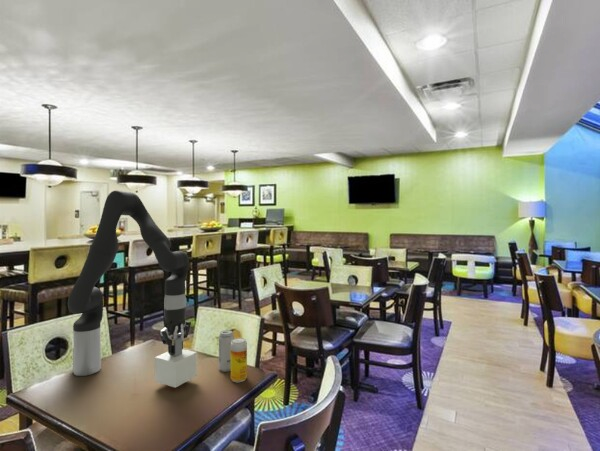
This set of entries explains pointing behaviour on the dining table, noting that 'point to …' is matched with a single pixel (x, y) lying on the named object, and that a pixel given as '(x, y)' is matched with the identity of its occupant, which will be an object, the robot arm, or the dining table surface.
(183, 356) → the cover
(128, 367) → the dining table surface
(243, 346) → the yellow white cylinder
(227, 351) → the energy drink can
